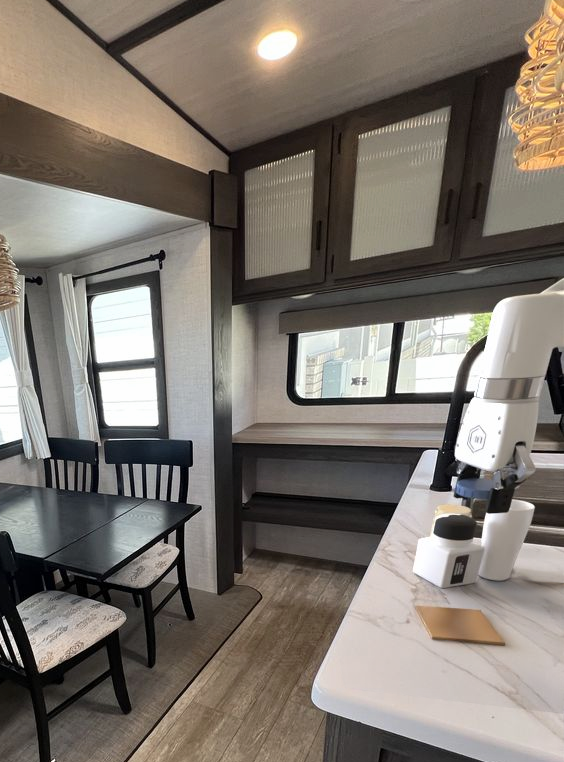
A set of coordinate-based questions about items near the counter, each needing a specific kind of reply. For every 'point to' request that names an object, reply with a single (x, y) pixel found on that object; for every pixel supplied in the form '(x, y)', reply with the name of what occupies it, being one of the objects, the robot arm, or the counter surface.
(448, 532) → the container
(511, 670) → the counter surface
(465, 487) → the lid
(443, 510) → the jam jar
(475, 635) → the cork coaster
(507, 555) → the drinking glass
